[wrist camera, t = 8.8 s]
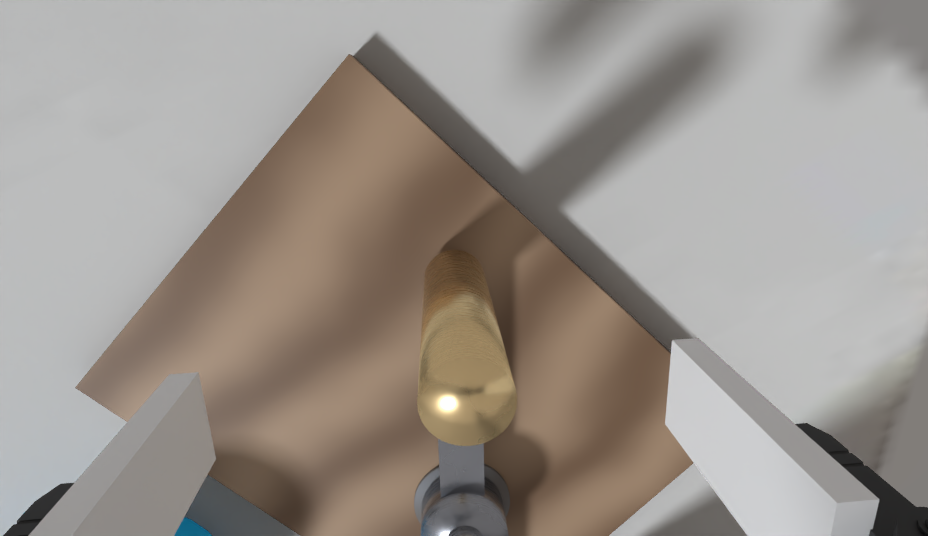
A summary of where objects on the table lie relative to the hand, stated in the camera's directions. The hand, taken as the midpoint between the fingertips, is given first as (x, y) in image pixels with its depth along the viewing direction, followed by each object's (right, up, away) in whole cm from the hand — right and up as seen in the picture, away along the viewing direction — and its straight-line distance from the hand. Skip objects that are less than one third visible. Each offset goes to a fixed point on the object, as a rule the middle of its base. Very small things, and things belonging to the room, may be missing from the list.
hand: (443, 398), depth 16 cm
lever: (0, -5, +13) cm, 14 cm away
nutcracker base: (-2, -3, +14) cm, 15 cm away
